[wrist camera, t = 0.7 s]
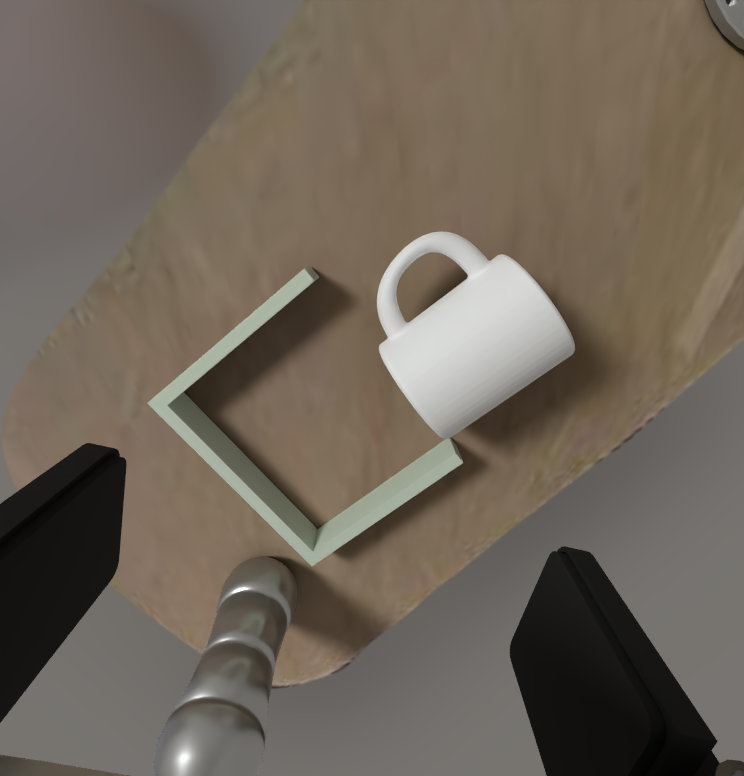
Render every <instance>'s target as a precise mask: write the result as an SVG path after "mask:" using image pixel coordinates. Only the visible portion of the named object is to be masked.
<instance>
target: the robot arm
mask: <svg viewBox="0 0 744 776" xmlns="http://www.w3.org/2000/svg"><path fill="white" fill-rule="evenodd" d="M704 1H705V3H706V6H707V8H708V10H709V13H710V15H711V18H712V19H713V21H714V22H715V24H716V25H717V27H718V28H719V29H720V31H721V32H722V34H723V35H724V36H725V37H726V38H727V39H729V40H730V41H731V42H732V43H733V44H734V45H735V46H737V47H738V48H740V49H742V50H744V0H704ZM125 475H126V460H125V458H122V457H120V454H119V451H118V450H117V449H114V448H110V447H105V446H101V445H96V444H91V443H86V444H84V445H83V446H81V447H80V448H78V449H77V450H76V451H74V452H73V453H71V454H70V455H68V456H67V457H66V458H64V459H63V460H61V461H60V462H59V463H57V464H56V465H54V466H53V467H52V468H50V469H49V470H47V471H46V472H44V473H43V474H42V475H40V476H39V477H37V478H36V479H35V480H33V481H32V482H30V483H29V484H28V485H26V486H25V487H23V488H22V489H21V490H19V491H18V492H16V493H15V494H13V495H12V496H11V497H9V498H8V499H6V500H5V501H4V502H2V503H1V504H0V722H1V721H2V720H3V718H4V717H5V716H6V715H7V714H8V712H9V711H10V710H11V708H12V707H13V706H14V705H15V703H16V702H17V701H18V699H19V698H20V697H21V696H22V694H23V693H24V691H25V690H26V689H27V688H28V686H29V685H30V684H31V683H32V681H33V680H34V679H35V677H36V676H37V675H38V674H39V672H40V671H41V670H42V668H43V667H44V666H45V665H46V663H47V662H48V660H49V659H50V658H51V657H52V656H53V654H54V653H55V652H56V650H57V649H58V648H59V646H60V645H61V644H62V643H63V641H64V640H65V639H66V637H67V636H68V635H69V634H70V632H71V631H72V630H73V629H74V627H75V626H76V625H77V623H78V622H79V621H80V619H81V618H82V617H83V616H84V614H85V613H86V612H87V611H88V609H89V608H90V607H91V605H92V604H93V603H94V601H95V600H96V599H97V598H98V596H99V595H100V594H101V593H102V591H103V590H104V589H105V587H106V586H107V585H108V583H109V582H110V581H111V579H112V578H113V576H114V574H115V572H116V570H117V567H118V563H119V553H120V540H121V527H122V514H123V501H124V488H125ZM510 658H511V662H512V665H513V669H514V672H515V675H516V678H517V682H518V685H519V688H520V691H521V694H522V698H523V701H524V704H525V707H526V710H527V714H528V717H529V720H530V723H531V727H532V730H533V733H534V736H535V739H536V743H537V746H538V749H539V752H540V756H541V759H542V762H543V765H544V768H545V772H546V775H547V776H744V762H742V761H737V760H726V761H723V762H721V763H719V762H718V760H717V758H716V757H715V755H714V754H713V753H712V751H711V750H712V749H713V747H714V746H715V744H716V743H717V740H716V739H715V737H714V736H713V734H712V733H711V731H710V730H709V728H708V727H707V725H706V724H705V722H704V721H703V719H702V718H701V716H700V715H699V713H698V712H697V710H696V709H695V707H694V706H693V704H692V703H691V701H690V700H689V698H688V697H687V695H686V694H685V692H684V691H683V689H682V688H681V686H680V685H679V683H678V682H677V680H676V679H675V677H674V676H673V674H672V673H671V671H670V670H669V668H668V667H667V666H666V664H665V662H664V661H663V659H662V658H661V657H660V655H659V653H658V652H657V650H656V649H655V647H654V646H653V644H652V643H651V642H650V640H649V638H648V637H647V636H646V634H645V633H644V631H643V629H642V628H641V626H640V625H639V623H638V622H637V621H636V619H635V618H634V616H633V614H632V613H631V612H630V610H629V609H628V607H627V606H626V604H625V603H624V601H623V600H622V598H621V597H620V595H619V594H618V592H617V591H616V589H615V588H614V586H613V585H612V583H611V582H610V580H609V579H608V577H607V576H606V574H605V573H604V571H603V570H602V568H601V567H600V565H599V564H598V562H597V561H596V559H595V558H594V556H593V555H592V554H591V553H590V552H587V551H583V550H578V549H574V548H569V547H561V548H560V549H558V551H557V552H556V551H554V552H552V553H551V554H550V555H549V557H548V559H547V561H546V564H545V566H544V568H543V570H542V573H541V575H540V577H539V580H538V582H537V584H536V586H535V589H534V591H533V593H532V595H531V598H530V600H529V602H528V605H527V607H526V609H525V611H524V614H523V616H522V618H521V620H520V623H519V625H518V627H517V629H516V632H515V634H514V636H513V639H512V641H511V645H510ZM0 776H129V775H123V774H117V773H110V772H105V771H98V770H92V769H87V768H80V767H75V766H69V765H63V764H57V763H51V762H45V761H38V760H32V759H25V758H18V757H11V756H5V755H0Z"/></svg>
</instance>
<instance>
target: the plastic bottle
mask: <svg viewBox="0 0 744 776" xmlns="http://www.w3.org/2000/svg"><path fill="white" fill-rule="evenodd" d="M296 607H297V583H296V580H295V578H294V576H293V574H292V573H291V571H290V570H289V569H288V568H287V567H286V566H285V565H284V564H283V563H281V562H280V561H278V560H276V559H273V558H269V557H256V558H252V559H249V560H247V561H245V562H243V563H241V564H240V565H238V566H237V567H236V568H235V569H234V570H233V571H232V573H231V574H230V576H229V577H228V578H227V580H226V581H225V583H224V585H223V587H222V591H221V595H220V598H219V602H218V607H217V615H216V618H215V622H214V625H213V628H212V631H211V635H210V638H209V641H208V644H207V646H206V649H205V651H204V653H203V655H202V658H201V660H200V662H199V663H198V665H197V668H196V670H195V672H194V674H193V676H192V678H191V680H190V683H189V684H188V686H187V687H186V689H185V691H184V693H183V694H182V696H181V698H180V700H179V701H178V703H177V705H176V706H175V708H174V710H173V711H172V713H171V715H170V716H169V718H168V720H167V722H166V724H165V726H164V728H163V730H162V732H161V734H160V736H159V738H158V741H157V745H156V751H155V758H154V774H155V776H257V774H258V772H259V770H260V767H261V765H262V762H263V754H264V749H265V739H266V727H267V715H268V704H269V697H270V692H271V686H272V680H273V674H274V669H275V663H276V660H277V657H278V654H279V651H280V648H281V644H282V641H283V638H284V635H285V633H286V631H287V629H288V627H289V625H290V623H291V620H292V618H293V615H294V612H295V610H296Z"/></svg>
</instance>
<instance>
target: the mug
mask: <svg viewBox="0 0 744 776" xmlns="http://www.w3.org/2000/svg"><path fill="white" fill-rule="evenodd" d="M429 252H438V253H442V254H444V255H446V256H448V257H450V258H451V259H453V260H454V261H455V262H456V263H457V264H458V265H459V266H460V267H461V268H462V269H463V270H464V271H465V272H466V273H467V275H468V278H467V279H466V280H464V281H463V282H462V283H461V284H459V285H458V286H457V287H455V288H454V289H453V290H451V291H450V292H449V293H447V294H446V295H445V296H443V297H442V298H441V299H439V300H438V301H437V302H435V303H434V304H433V305H431V306H430V307H429V308H427V309H426V310H425V311H423V312H422V313H421V314H420V315H418V316H417V317H416V318H414V319H413V320H412V321H410V322H409V323H407V322H405V320H404V318H403V316H402V314H401V312H400V310H399V307H398V303H397V297H396V289H397V284H398V281H399V279H400V277H401V275H402V274H403V272H404V271H405V270H406V269H407V267H408V266H409V265H410V264H411V263H412V262H414V261H415V260H416V259H417V258H419V257H420V256H422V255H424V254H426V253H429ZM377 310H378V315H379V319H380V322H381V324H382V327H383V329H384V331H385V333H386V334H387V336H388V339H386V340H385V341H384V342H382V343H381V344H380V346H379V352H380V355H381V357H382V359H383V361H384V363H385V365H386V367H387V369H388V370H389V372H390V374H391V375H392V377H393V379H394V380H395V382H396V383H397V385H398V386H399V388H400V389H401V391H402V392H403V393H404V395H405V396H406V398H407V399H408V400H409V402H410V403H411V404H412V406H413V407H414V408H415V410H416V411H417V412H418V413H419V415H420V416H421V417H422V418H423V419H424V421H425V422H426V423H427V424H428V425H429V426H430V427H431V428H432V429H433V430H434V431H435V432H436V433H437V434H438V435H439V436H440V437H442V438H444V439H449V438H451V437H452V436H454V435H455V434H457V433H458V432H460V431H461V430H463V429H464V428H465V427H467V426H468V425H470V424H471V423H473V422H474V421H476V420H477V419H479V418H480V417H482V416H483V415H485V414H486V413H487V412H489V411H490V410H492V409H493V408H495V407H496V406H498V405H499V404H501V403H502V402H504V401H505V400H507V399H508V398H510V397H511V396H512V395H514V394H515V393H517V392H518V391H520V390H521V389H523V388H524V387H526V386H527V385H529V384H530V383H532V382H533V381H534V380H536V379H537V378H539V377H540V376H542V375H543V374H545V373H546V372H548V371H549V370H551V369H552V368H554V367H555V366H557V365H558V364H559V363H561V362H562V361H564V360H565V359H567V358H568V357H570V356H571V355H573V353H574V352H575V344H574V340H573V337H572V335H571V333H570V330H569V329H568V327H567V325H566V323H565V321H564V319H563V318H562V316H561V315H560V313H559V311H558V310H557V308H556V307H555V305H554V304H553V303H552V301H551V300H550V298H549V297H548V296H547V295H546V293H545V292H544V291H543V289H542V288H541V287H540V286H539V285H538V283H537V282H536V281H535V280H534V279H533V278H532V277H531V275H530V274H529V273H528V272H527V271H526V270H525V269H524V268H523V267H522V266H520V265H519V264H518V263H517V262H516V261H515V260H513V259H512V258H510V257H508V256H506V255H498V256H496V257H495V258H494V259H492V260H491V261H489V260H487V258H486V257H485V256H484V255H483V254H482V253H481V252H480V251H479V250H478V248H477V247H475V246H474V245H473V244H472V243H471V242H469V241H468V240H466V239H465V238H463V237H461V236H459V235H457V234H454V233H450V232H433V233H429V234H426V235H423V236H421V237H419V238H417V239H416V240H414V241H413V242H411V243H410V244H409V245H407V246H406V247H405V248H404V249H403V250H402V251H401V252H400V253H399V254H398V255H397V256H396V257H395V258H394V260H393V261H392V262H391V264H390V265H389V267H388V268H387V270H386V272H385V273H384V275H383V278H382V280H381V283H380V286H379V289H378V295H377Z"/></svg>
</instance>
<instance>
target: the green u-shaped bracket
mask: <svg viewBox="0 0 744 776" xmlns="http://www.w3.org/2000/svg"><path fill="white" fill-rule="evenodd" d="M318 278H319V276H318V275H317V273H316V272H315V271H314V270H313V269H312V267H311V266H309V267H307V268H305V269H303V270H302V271H301V272H300V273H299V274H297V275H296V276H295V277H294V278H293V279H292V280H290V281H289V282H288V283H287V284H286V285H285V286H283V287H282V288H281V289H280V290H279V291H278V292H276V293H275V294H274V295H273V296H272V297H271V298H269V299H268V300H267V301H266V302H265V303H264V304H262V305H261V306H260V307H259V308H258V309H257V310H255V311H254V312H253V313H252V314H251V315H250V316H248V317H247V318H246V319H245V320H244V321H243V322H241V323H240V324H239V325H238V326H237V327H236V328H234V329H233V330H232V331H231V332H230V333H229V334H227V335H226V336H225V337H224V338H223V339H222V340H220V341H219V342H218V343H217V344H216V345H215V346H213V347H212V348H211V349H210V350H209V351H208V352H207V353H205V354H204V355H203V356H202V357H201V358H200V359H198V360H197V361H196V362H195V363H194V364H193V365H191V366H190V367H189V368H188V369H187V370H186V371H184V372H183V373H182V374H181V375H180V376H179V377H177V378H176V379H175V380H174V381H173V382H172V383H170V384H169V385H168V386H167V387H166V388H165V389H163V390H162V391H161V392H160V393H159V394H158V395H156V396H155V397H154V398H153V399H152V400H151V401H149V402H148V404H149V405H150V406H151V407H152V408H153V409H154V410H155V411H156V412H157V413H158V414H159V415H160V416H161V417H162V418H163V419H164V420H165V421H166V422H167V423H168V424H169V425H170V426H171V427H172V428H173V429H174V430H175V431H176V432H177V433H178V434H179V435H180V436H181V437H182V438H183V439H184V440H185V441H186V442H187V443H188V444H189V445H190V446H191V447H192V448H193V449H194V450H195V451H196V452H197V453H198V454H199V455H200V456H201V457H202V458H203V459H204V460H205V461H206V462H207V463H208V464H209V465H210V466H211V467H212V468H213V469H214V470H215V471H216V472H217V473H218V474H219V475H220V476H221V477H222V478H223V479H224V480H225V481H226V482H227V483H228V484H229V485H230V486H231V487H232V488H233V489H234V490H235V491H236V492H237V493H238V494H239V495H240V496H241V497H242V498H243V499H244V500H245V501H246V502H247V503H248V504H249V505H250V506H251V507H252V508H254V509H255V510H256V511H257V512H258V513H259V514H260V515H261V516H262V517H263V518H264V519H265V520H266V521H267V522H268V523H269V524H270V525H271V526H272V527H273V528H274V529H275V530H276V531H277V532H278V533H279V534H280V535H281V536H282V537H283V538H284V539H285V540H286V541H287V542H288V543H289V544H290V545H291V546H292V547H293V548H294V549H295V550H296V551H297V552H298V553H299V554H300V555H301V556H302V557H303V558H304V559H305V560H306V561H307V562H308V563H309V564H310V565H311V566H313V565H315V564H316V563H317V562H319V561H320V560H322V559H323V558H325V557H326V556H328V555H329V554H331V553H332V552H334V551H335V550H336V549H338V548H339V547H341V546H342V545H344V544H345V543H347V542H348V541H350V540H351V539H353V538H354V537H355V536H357V535H358V534H360V533H361V532H363V531H364V530H366V529H367V528H369V527H370V526H372V525H373V524H374V523H376V522H377V521H379V520H380V519H382V518H383V517H385V516H386V515H388V514H389V513H391V512H392V511H393V510H395V509H396V508H398V507H399V506H401V505H402V504H404V503H405V502H407V501H408V500H410V499H411V498H412V497H414V496H415V495H417V494H418V493H420V492H421V491H423V490H424V489H426V488H427V487H429V486H430V485H431V484H433V483H434V482H436V481H437V480H439V479H440V478H442V477H443V476H445V475H446V474H448V473H449V472H450V471H452V470H453V469H455V468H456V467H458V466H459V465H461V464H462V463H463V460H462V458H461V455H460V453H459V450H458V448H457V445H456V444H455V443H454V442H453V441H452V439H451V438H449V439H445V440H444V441H442V442H441V443H439V444H438V445H437V446H435V447H434V448H432V449H431V450H429V451H428V452H427V453H425V454H424V455H422V456H421V457H420V458H418V459H417V460H415V461H414V462H412V463H411V464H410V465H408V466H407V467H405V468H404V469H402V470H401V471H400V472H398V473H397V474H395V475H394V476H393V477H391V478H390V479H388V480H387V481H385V482H384V483H383V484H381V485H380V486H378V487H377V488H375V489H374V490H373V491H371V492H370V493H368V494H367V495H365V496H364V497H363V498H361V499H360V500H358V501H357V502H356V503H354V504H353V505H351V506H350V507H348V508H347V509H346V510H344V511H343V512H341V513H340V514H338V515H337V516H336V517H334V518H333V519H331V520H330V521H329V522H327V523H326V524H324V525H323V526H321V527H320V528H319V529H317V528H316V527H315V526H314V525H313V524H312V523H311V522H310V521H309V520H308V519H307V518H306V517H305V516H304V515H303V514H302V513H301V512H300V511H299V510H298V509H297V508H296V507H295V506H294V505H293V504H292V503H291V502H290V501H289V499H288V498H287V497H286V496H285V495H284V494H283V493H282V492H281V491H280V490H279V489H278V488H277V487H276V486H275V485H274V484H273V483H272V482H271V481H270V480H269V479H268V478H267V477H266V476H265V475H264V474H263V473H262V472H261V471H260V470H259V469H258V468H257V467H256V466H255V465H254V464H253V463H252V462H251V461H250V460H249V459H248V457H247V456H246V455H245V454H244V453H243V452H242V451H241V450H240V449H239V448H238V447H237V446H236V445H235V444H234V443H233V442H232V441H231V440H230V439H229V438H228V437H227V436H226V435H225V434H224V433H223V432H222V431H221V430H220V429H219V428H218V427H217V426H216V425H215V424H214V423H213V422H212V421H211V420H210V419H209V418H208V416H207V415H206V414H205V413H204V412H203V411H202V410H201V409H200V408H199V407H198V406H197V405H196V404H195V403H194V402H193V401H192V400H191V399H190V398H189V397H188V396H187V395H186V394H185V393H184V391H186V390H187V389H188V388H189V387H190V386H192V385H193V384H194V383H195V382H196V381H197V380H199V379H200V378H201V377H202V376H203V375H205V374H206V373H207V372H208V371H209V370H210V369H212V368H213V367H214V366H215V365H216V364H218V363H219V362H220V361H221V360H222V359H223V358H225V357H226V356H227V355H228V354H229V353H231V352H232V351H233V350H234V349H235V348H236V347H238V346H239V345H240V344H241V343H242V342H244V341H245V340H246V339H247V338H248V337H249V336H251V335H252V334H253V333H254V332H255V331H257V330H258V329H259V328H260V327H261V326H262V325H264V324H265V323H266V322H267V321H268V320H270V319H271V318H272V317H273V316H274V315H276V314H277V313H278V312H279V311H280V310H281V309H283V308H284V307H285V306H286V305H287V304H289V303H290V302H291V301H292V300H293V299H294V298H296V297H297V296H298V295H299V294H300V293H302V292H303V291H304V290H305V289H306V288H307V287H309V286H310V285H311V284H312V283H313V282H315V281H316V280H317V279H318Z"/></svg>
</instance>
